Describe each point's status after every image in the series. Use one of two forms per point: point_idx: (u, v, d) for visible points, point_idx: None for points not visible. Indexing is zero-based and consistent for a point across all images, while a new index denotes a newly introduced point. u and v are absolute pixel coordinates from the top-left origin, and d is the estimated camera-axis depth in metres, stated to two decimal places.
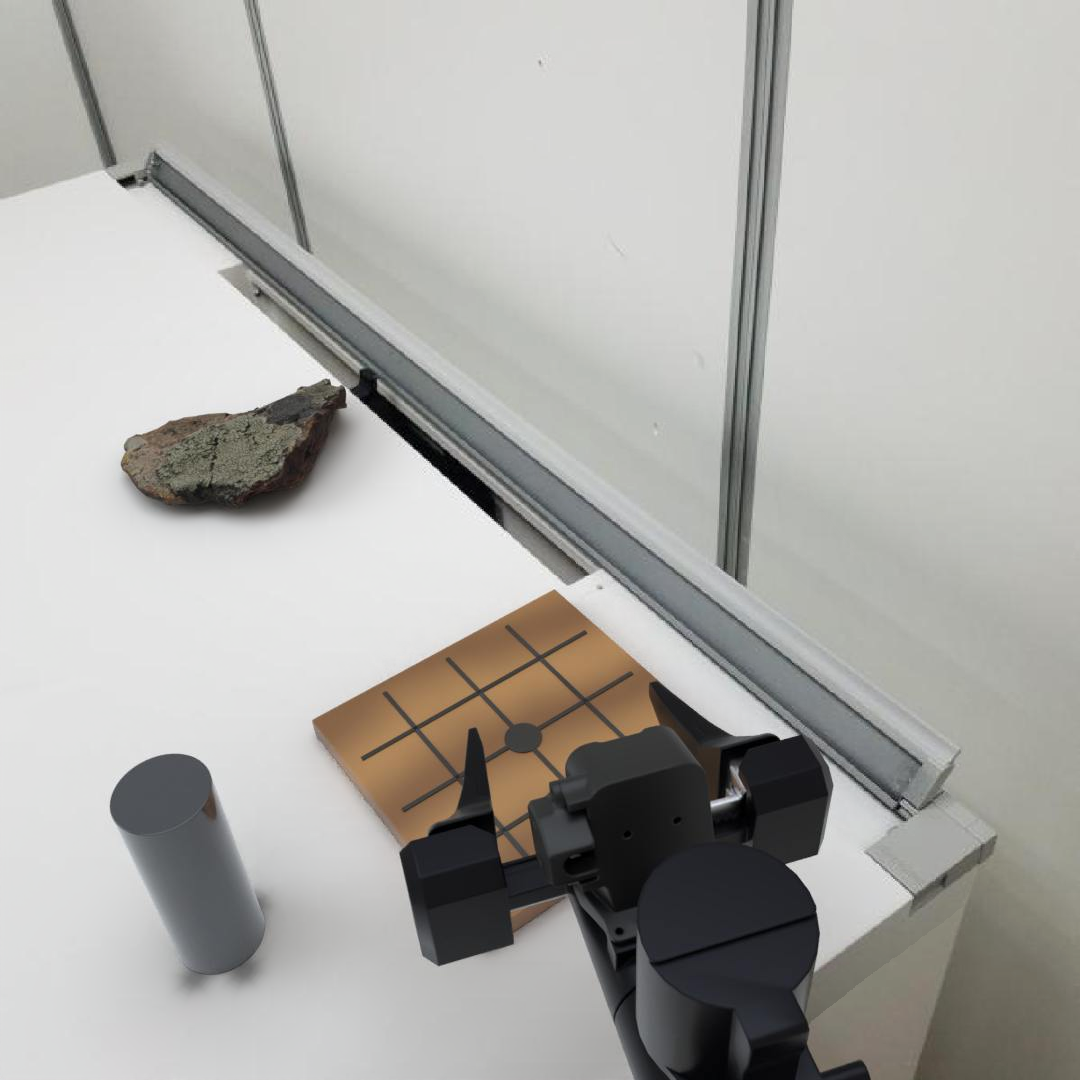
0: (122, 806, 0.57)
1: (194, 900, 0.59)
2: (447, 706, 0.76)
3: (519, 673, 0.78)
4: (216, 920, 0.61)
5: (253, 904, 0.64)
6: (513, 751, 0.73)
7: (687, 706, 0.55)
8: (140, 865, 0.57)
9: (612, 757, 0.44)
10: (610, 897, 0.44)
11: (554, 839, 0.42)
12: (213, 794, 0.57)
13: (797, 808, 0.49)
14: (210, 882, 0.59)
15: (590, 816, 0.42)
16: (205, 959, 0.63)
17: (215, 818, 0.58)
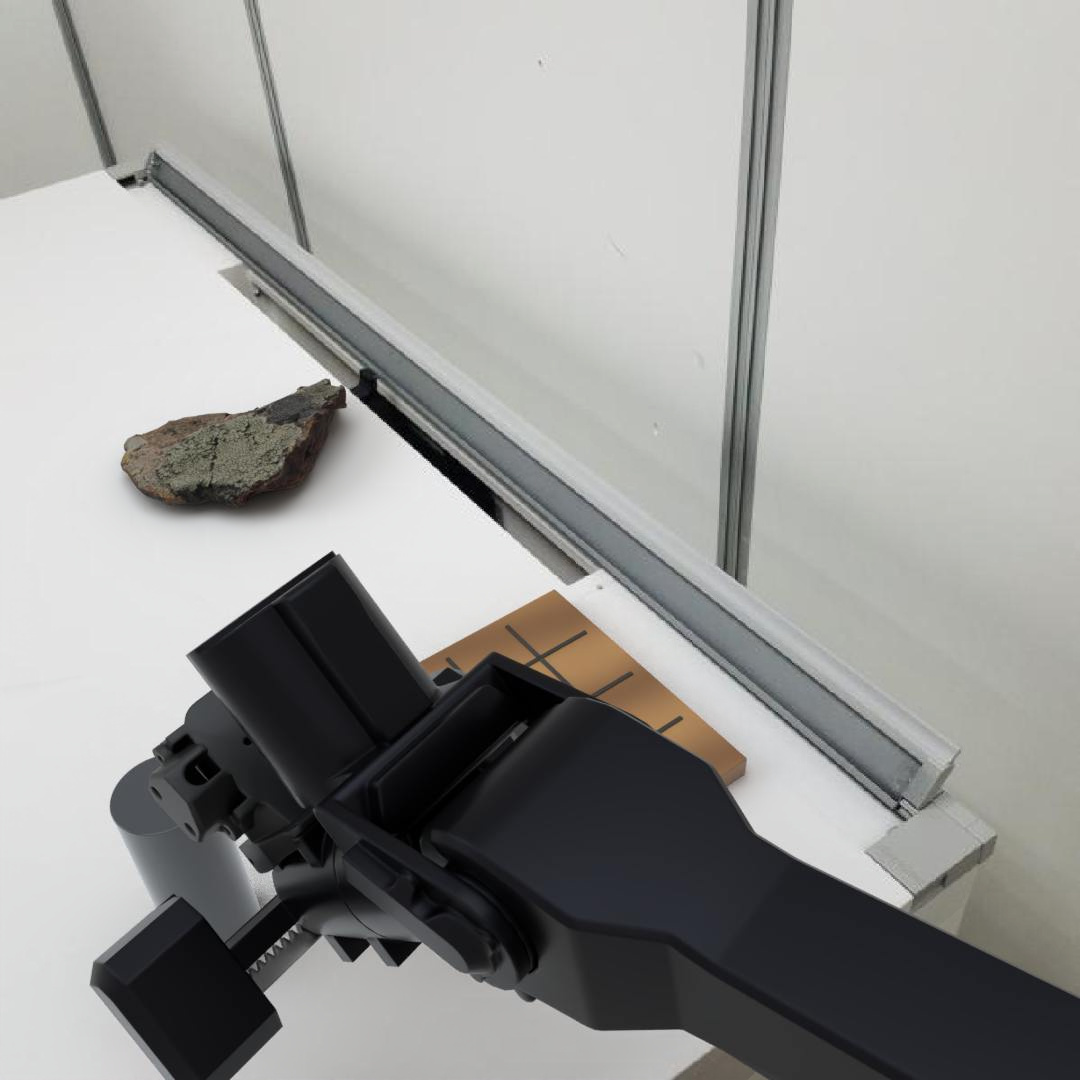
0: (122, 806, 0.57)
1: (194, 900, 0.59)
2: None
3: None
4: (216, 920, 0.61)
5: (253, 904, 0.64)
6: None
7: None
8: (140, 865, 0.57)
9: None
10: (274, 809, 0.41)
11: (166, 768, 0.40)
12: None
13: None
14: (210, 882, 0.59)
15: (196, 739, 0.41)
16: None
17: None
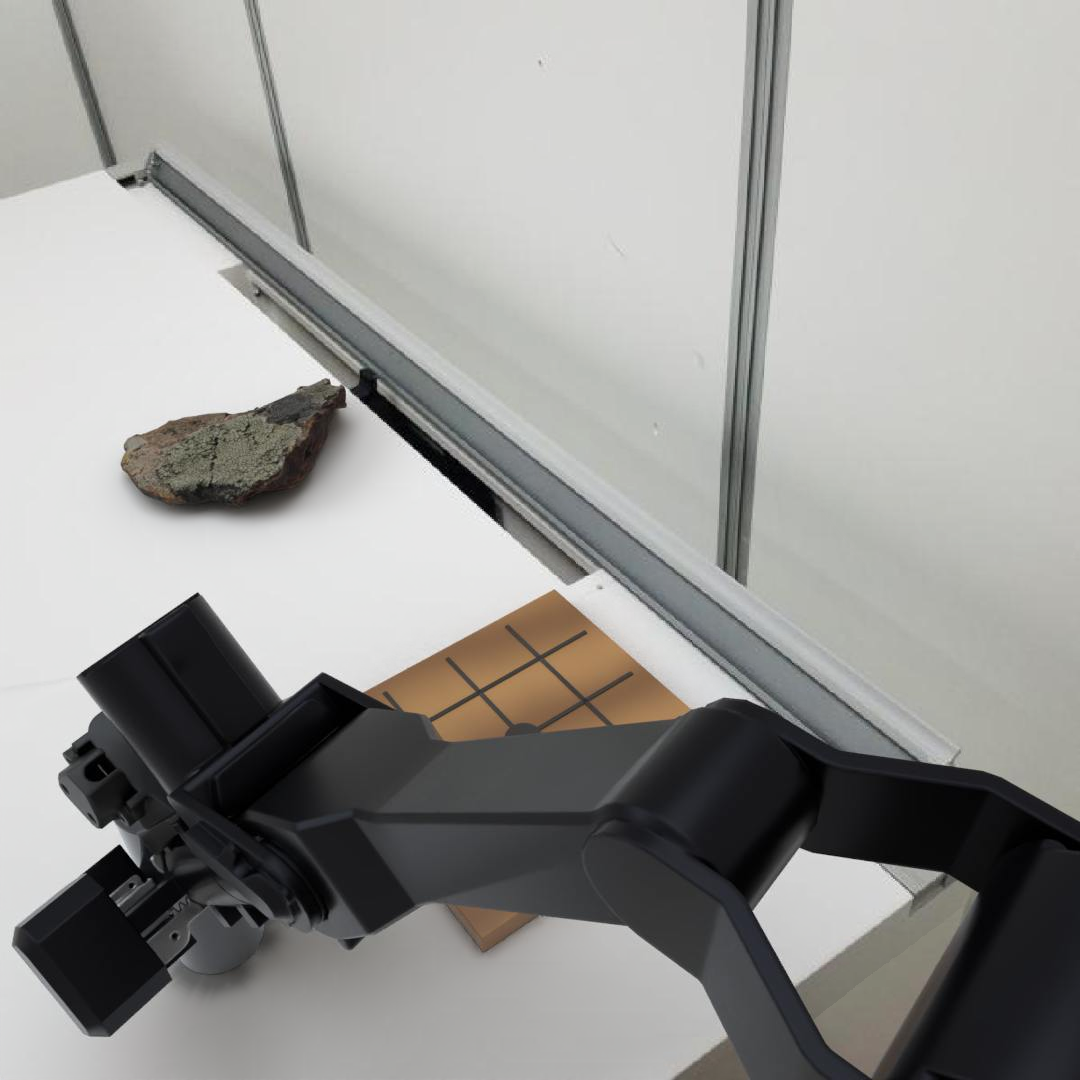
0: None
1: None
2: (447, 706, 0.76)
3: (519, 673, 0.78)
4: (216, 920, 0.61)
5: None
6: None
7: None
8: (140, 865, 0.57)
9: None
10: (160, 801, 0.50)
11: (70, 768, 0.49)
12: None
13: None
14: None
15: (97, 744, 0.50)
16: (204, 959, 0.63)
17: None
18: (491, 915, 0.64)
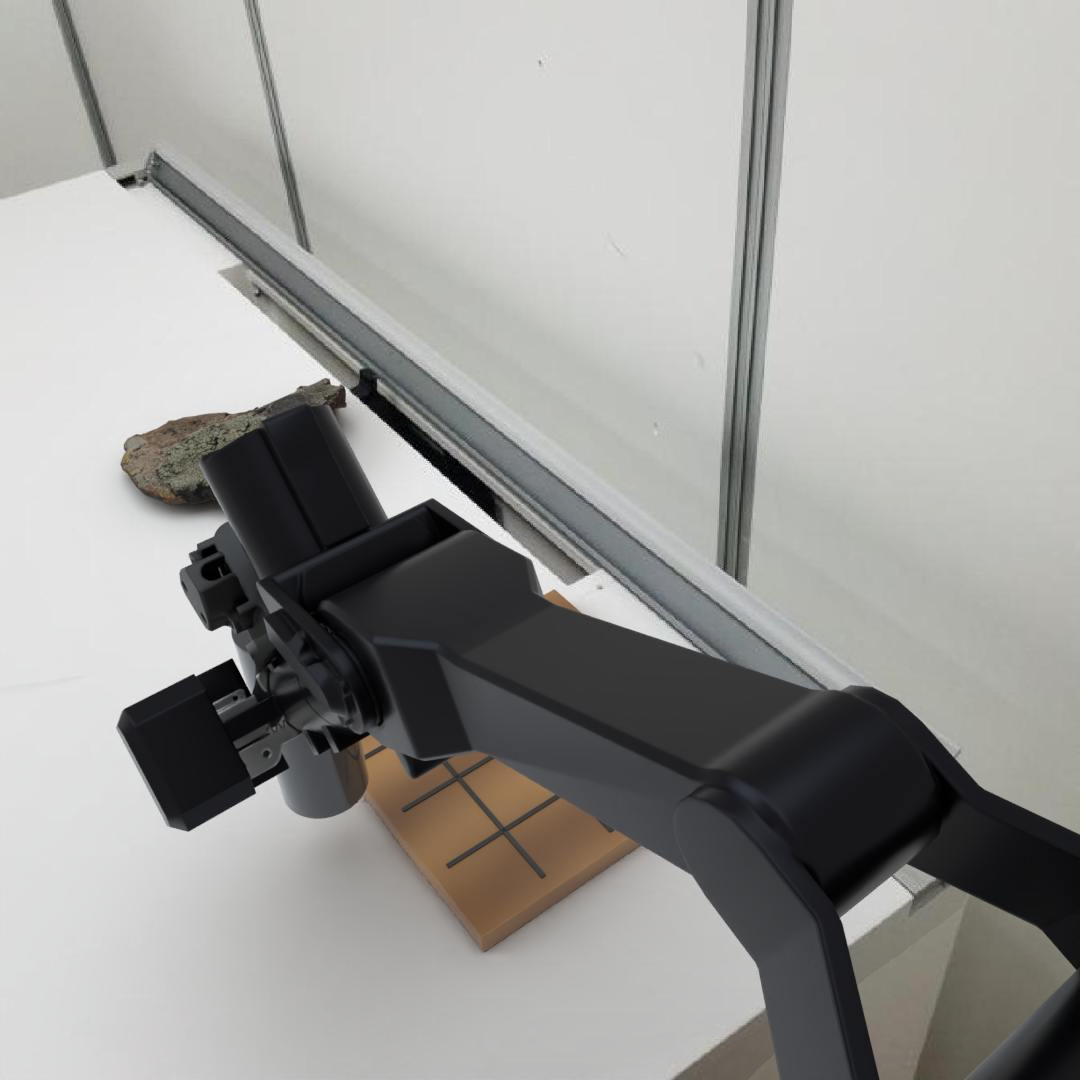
0: None
1: None
2: None
3: None
4: (318, 762, 0.61)
5: (358, 758, 0.64)
6: None
7: None
8: (252, 689, 0.59)
9: None
10: (267, 613, 0.51)
11: None
12: None
13: None
14: None
15: (220, 549, 0.52)
16: (304, 801, 0.64)
17: None
18: (491, 915, 0.64)
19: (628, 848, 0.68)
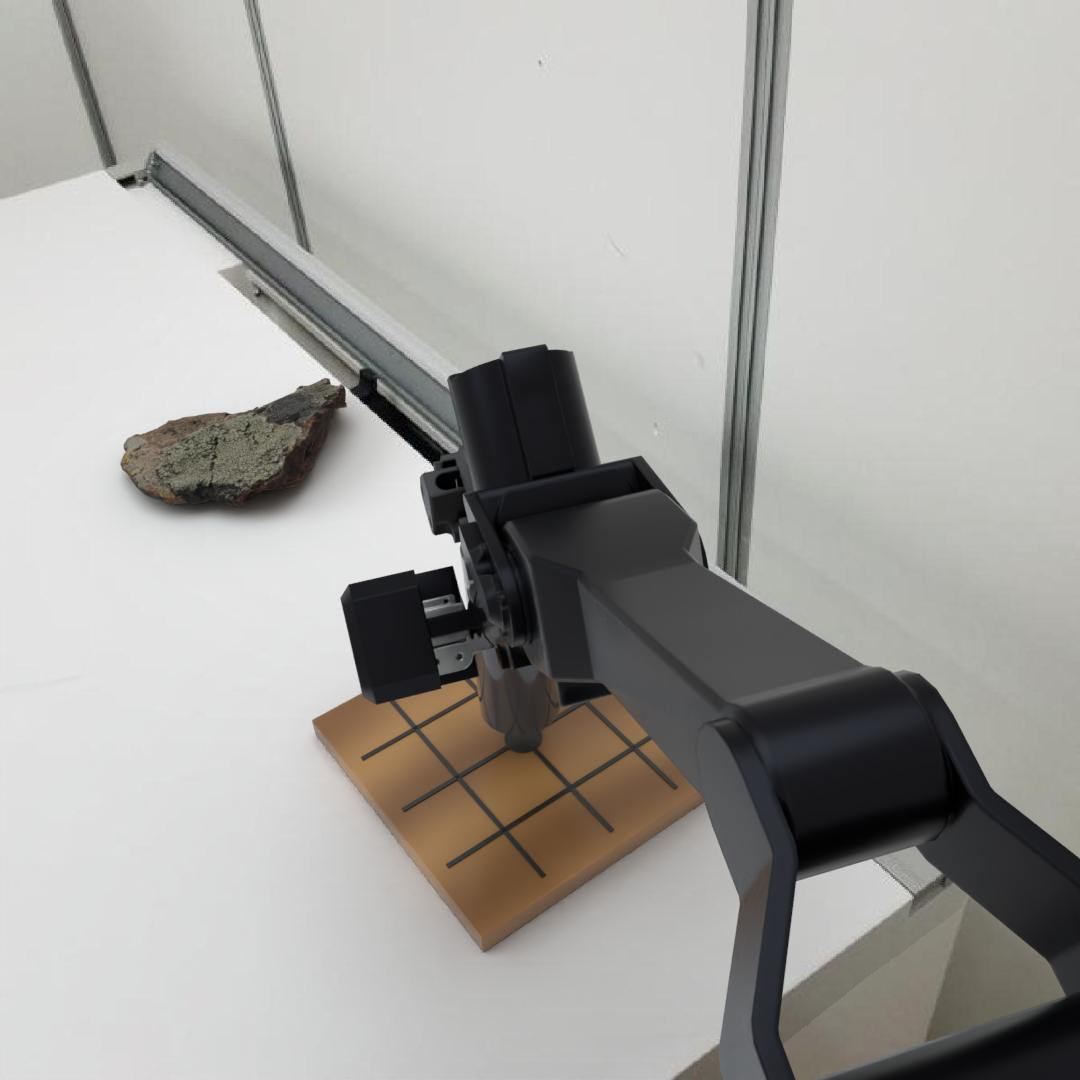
0: None
1: None
2: (447, 706, 0.76)
3: None
4: (512, 681, 0.66)
5: (551, 689, 0.68)
6: (513, 751, 0.73)
7: None
8: (467, 599, 0.64)
9: None
10: None
11: None
12: None
13: None
14: None
15: (458, 465, 0.57)
16: (494, 714, 0.69)
17: None
18: (491, 915, 0.64)
19: (628, 848, 0.68)
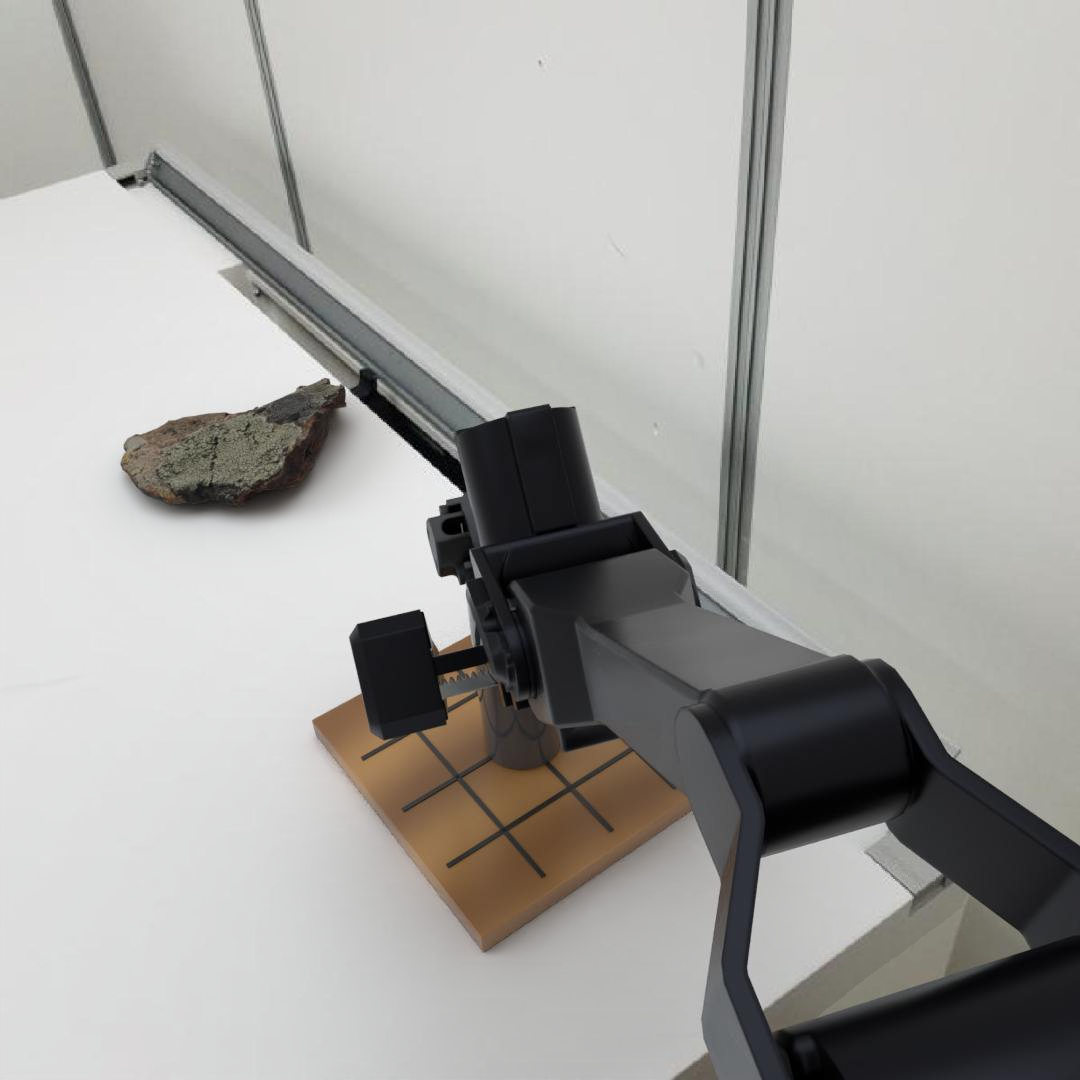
0: None
1: None
2: (447, 706, 0.76)
3: None
4: (516, 719, 0.68)
5: None
6: None
7: None
8: (473, 641, 0.66)
9: None
10: None
11: None
12: None
13: None
14: None
15: (464, 509, 0.59)
16: (498, 749, 0.71)
17: None
18: (491, 915, 0.64)
19: (628, 848, 0.68)
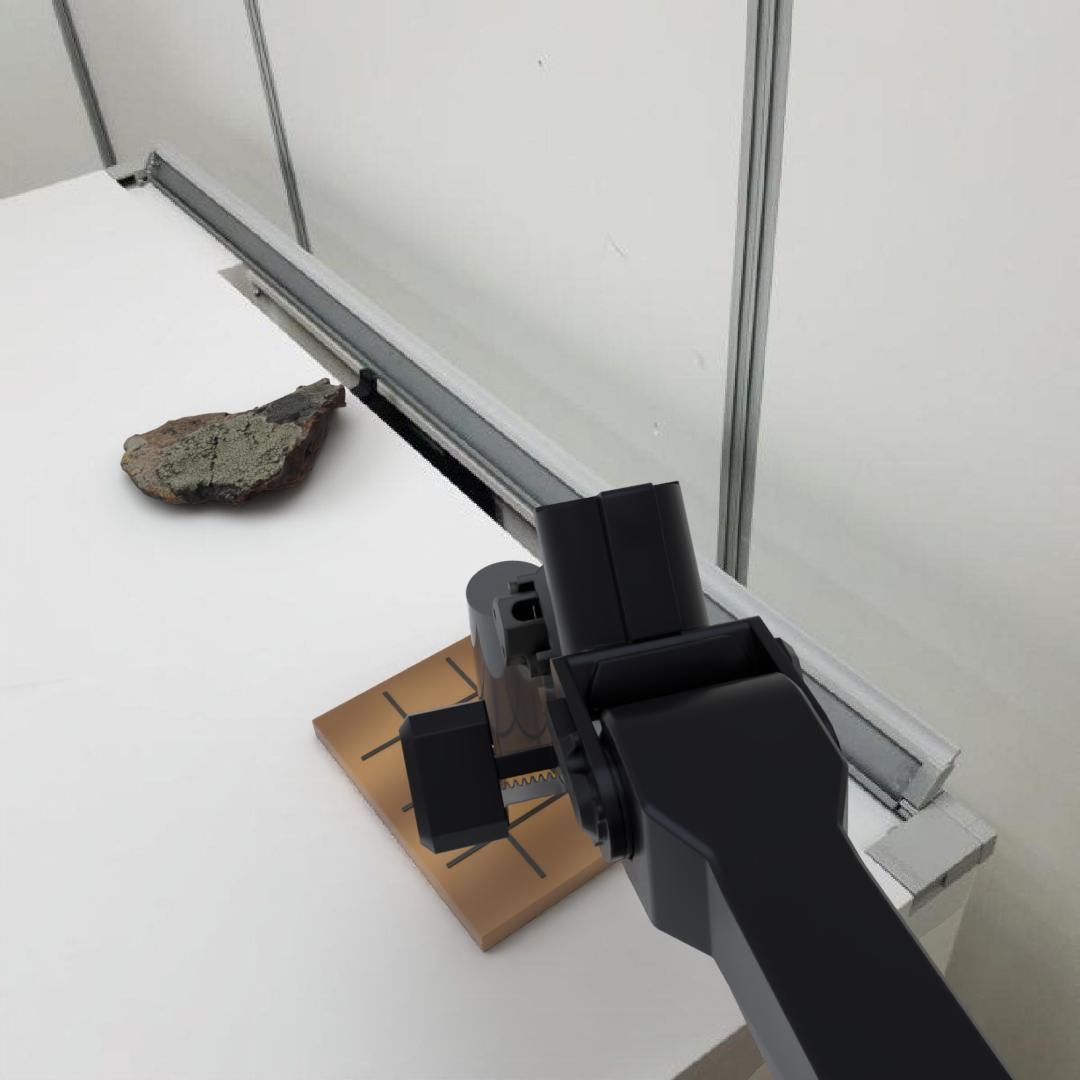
0: (477, 586, 0.65)
1: (503, 691, 0.67)
2: None
3: None
4: (516, 719, 0.68)
5: None
6: None
7: None
8: (473, 641, 0.66)
9: None
10: None
11: (504, 597, 0.49)
12: None
13: None
14: (520, 683, 0.66)
15: (537, 588, 0.50)
16: None
17: None
18: (491, 915, 0.64)
19: None
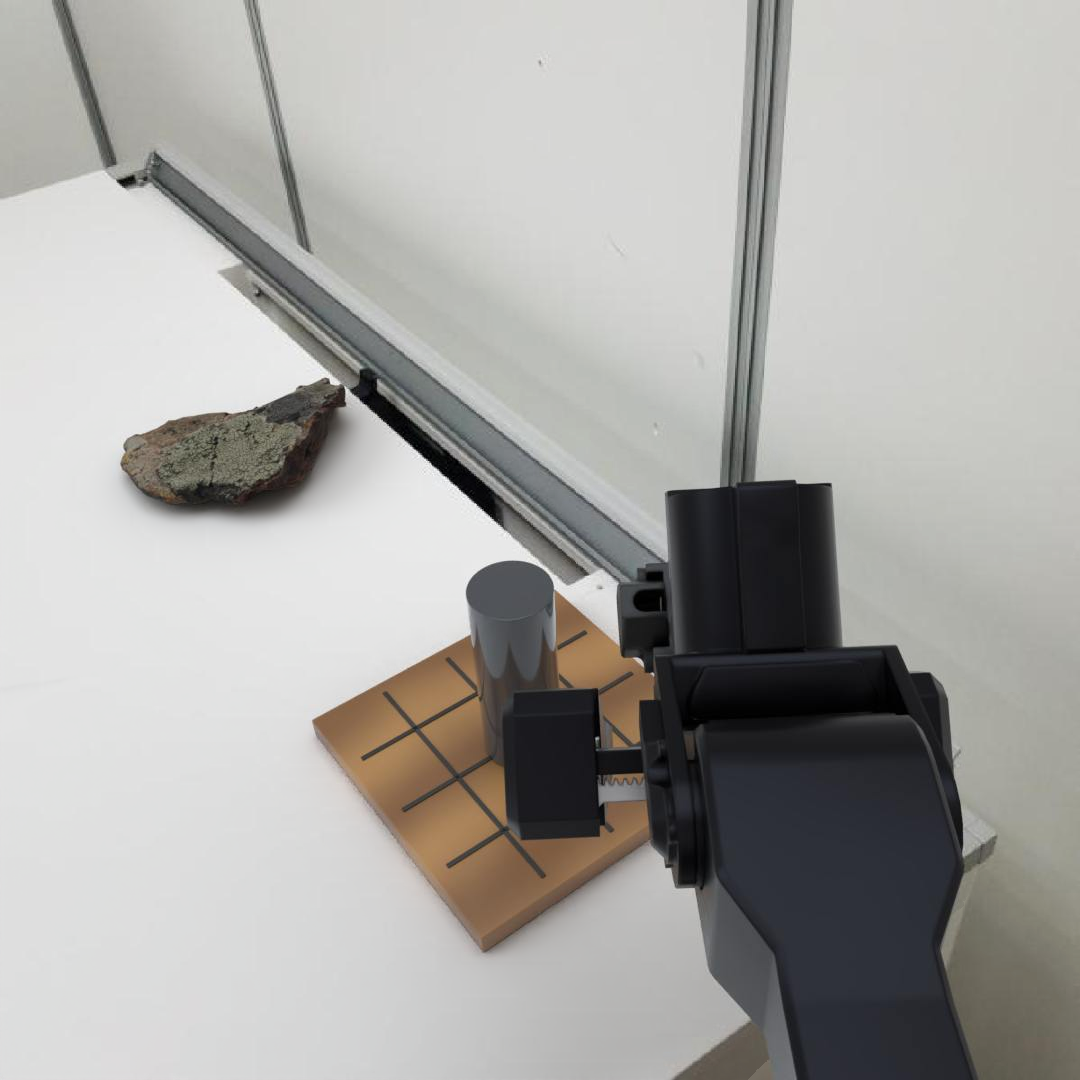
0: (477, 586, 0.65)
1: (503, 691, 0.67)
2: (447, 706, 0.76)
3: None
4: None
5: None
6: None
7: None
8: (473, 641, 0.66)
9: None
10: None
11: (628, 583, 0.46)
12: (548, 610, 0.64)
13: None
14: (520, 683, 0.66)
15: (666, 579, 0.46)
16: (498, 749, 0.71)
17: (542, 631, 0.64)
18: (491, 915, 0.64)
19: (628, 848, 0.68)
